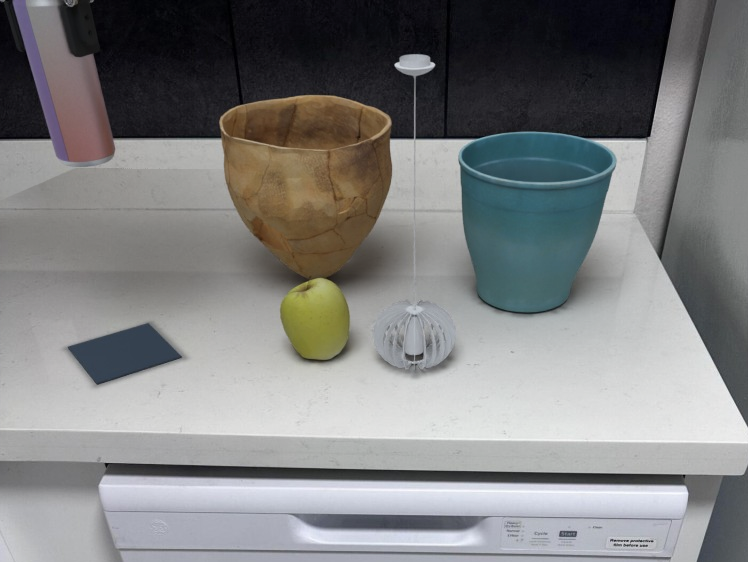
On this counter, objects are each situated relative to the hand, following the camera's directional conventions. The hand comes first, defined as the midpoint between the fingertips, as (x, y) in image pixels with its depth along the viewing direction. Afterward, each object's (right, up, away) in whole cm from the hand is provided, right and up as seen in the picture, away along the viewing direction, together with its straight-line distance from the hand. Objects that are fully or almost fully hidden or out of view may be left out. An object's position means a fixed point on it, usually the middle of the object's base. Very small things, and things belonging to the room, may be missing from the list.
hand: (58, 49), depth 76 cm
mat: (+1, -26, +16) cm, 30 cm away
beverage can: (0, -8, +7) cm, 10 cm away
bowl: (+22, -12, +31) cm, 39 cm away
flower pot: (+49, -16, +26) cm, 58 cm away
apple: (+23, -25, +16) cm, 38 cm away
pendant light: (+34, -27, +15) cm, 46 cm away
